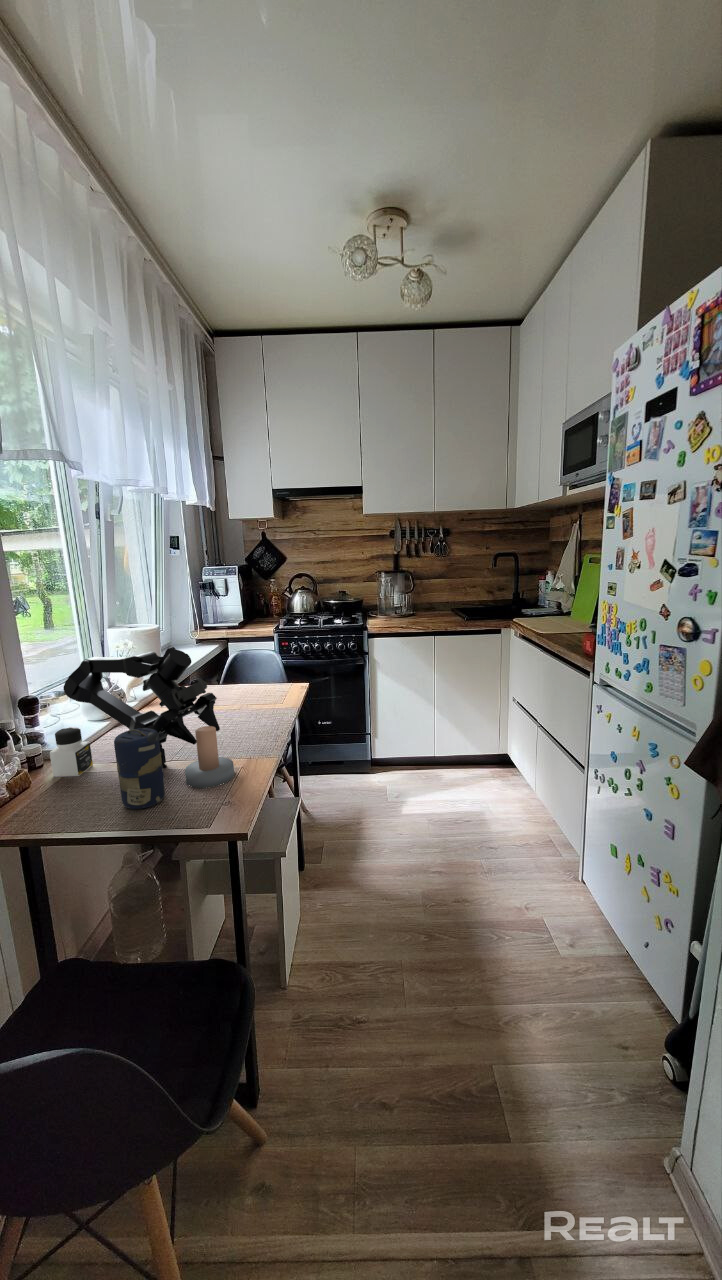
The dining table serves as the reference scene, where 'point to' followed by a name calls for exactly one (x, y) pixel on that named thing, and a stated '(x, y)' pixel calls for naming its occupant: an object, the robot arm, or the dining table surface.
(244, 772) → the dining table surface
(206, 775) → the pedestal
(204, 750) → the tan piece
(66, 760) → the medicine bottle
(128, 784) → the canister
